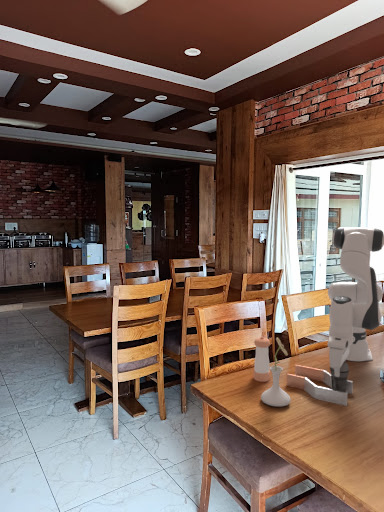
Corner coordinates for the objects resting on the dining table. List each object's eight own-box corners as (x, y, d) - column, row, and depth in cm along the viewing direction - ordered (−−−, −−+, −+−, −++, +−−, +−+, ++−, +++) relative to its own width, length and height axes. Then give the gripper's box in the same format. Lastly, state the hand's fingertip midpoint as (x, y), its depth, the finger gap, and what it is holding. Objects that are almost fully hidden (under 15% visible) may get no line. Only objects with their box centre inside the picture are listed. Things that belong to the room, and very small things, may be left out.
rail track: (295, 375, 175) (295, 364, 174) (354, 387, 161) (355, 376, 161) (281, 390, 159) (282, 379, 158) (346, 406, 145) (347, 393, 145)
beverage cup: (350, 401, 149) (351, 351, 147) (330, 400, 150) (331, 350, 148) (346, 393, 156) (348, 345, 154) (327, 392, 157) (329, 344, 155)
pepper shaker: (263, 383, 166) (263, 340, 164) (250, 378, 171) (250, 336, 170) (273, 378, 171) (273, 336, 169) (260, 373, 176) (260, 333, 175)
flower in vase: (289, 412, 141) (290, 346, 139) (258, 406, 145) (259, 342, 143) (292, 396, 153) (293, 335, 151) (264, 392, 157) (264, 333, 155)
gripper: (337, 330, 161) (336, 362, 162) (326, 343, 144) (325, 379, 145) (353, 332, 158) (352, 365, 159) (344, 346, 140) (343, 382, 142)
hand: (339, 372), depth 152 cm, fingers open, 8 cm apart
